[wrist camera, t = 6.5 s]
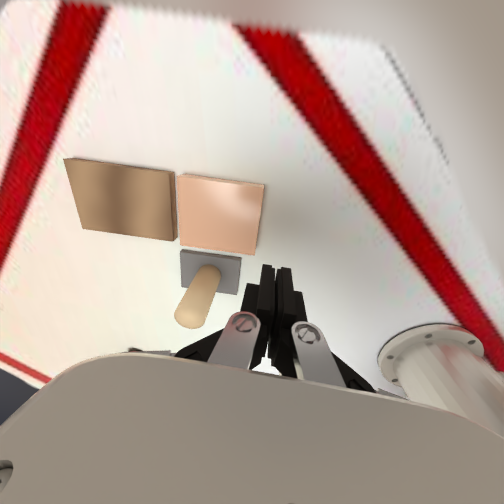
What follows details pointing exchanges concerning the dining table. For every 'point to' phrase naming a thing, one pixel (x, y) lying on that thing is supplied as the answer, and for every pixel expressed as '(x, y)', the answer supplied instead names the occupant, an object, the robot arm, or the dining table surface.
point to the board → (124, 198)
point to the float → (204, 284)
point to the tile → (219, 213)
